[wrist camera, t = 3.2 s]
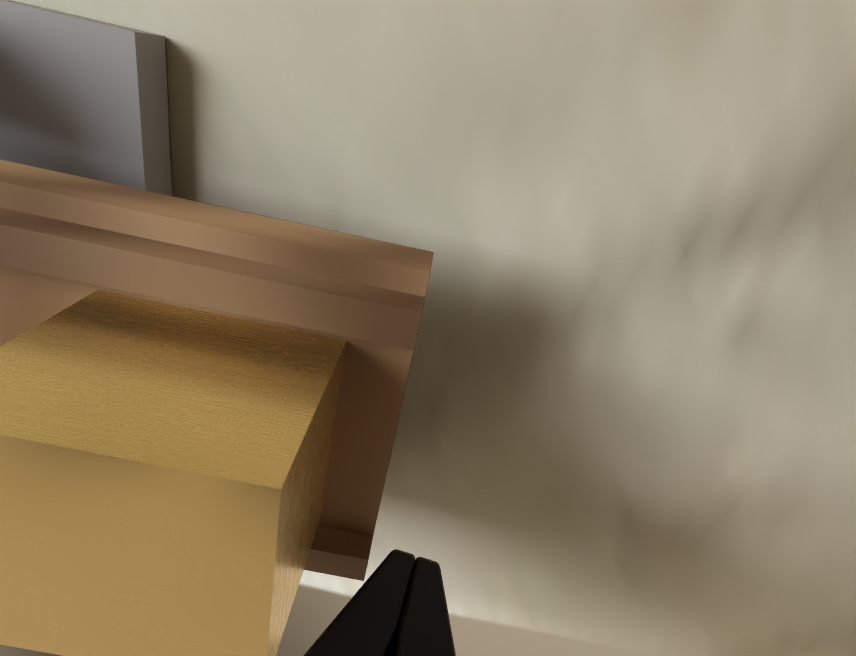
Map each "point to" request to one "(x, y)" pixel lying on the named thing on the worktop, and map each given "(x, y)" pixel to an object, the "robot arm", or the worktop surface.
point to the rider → (159, 478)
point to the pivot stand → (83, 98)
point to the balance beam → (232, 304)
